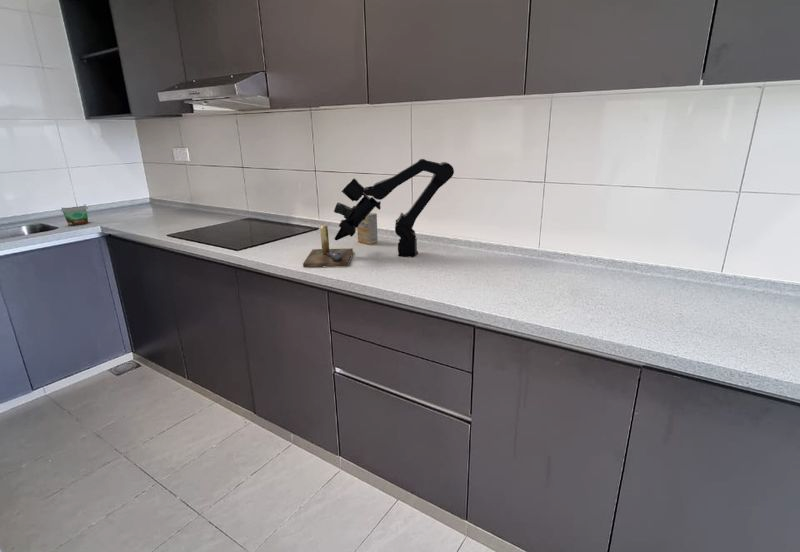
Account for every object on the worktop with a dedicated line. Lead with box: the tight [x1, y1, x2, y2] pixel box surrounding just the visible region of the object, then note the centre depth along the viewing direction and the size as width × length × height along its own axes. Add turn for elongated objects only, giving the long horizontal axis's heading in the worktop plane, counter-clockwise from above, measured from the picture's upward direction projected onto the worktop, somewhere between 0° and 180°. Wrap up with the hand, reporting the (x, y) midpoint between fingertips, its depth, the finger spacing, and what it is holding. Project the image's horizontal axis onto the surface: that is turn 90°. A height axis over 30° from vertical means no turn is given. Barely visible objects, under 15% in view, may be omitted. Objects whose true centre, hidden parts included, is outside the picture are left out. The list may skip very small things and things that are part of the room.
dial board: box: [302, 247, 354, 268], centre depth 165 cm, size 16×19×2 cm
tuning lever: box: [319, 224, 342, 261], centre depth 162 cm, size 4×17×10 cm, turn 31°
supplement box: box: [356, 211, 379, 245], centre depth 186 cm, size 8×5×13 cm, turn 45°
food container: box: [60, 204, 89, 227], centre depth 238 cm, size 12×6×10 cm, turn 148°
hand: (335, 239), depth 167 cm, fingers closed
